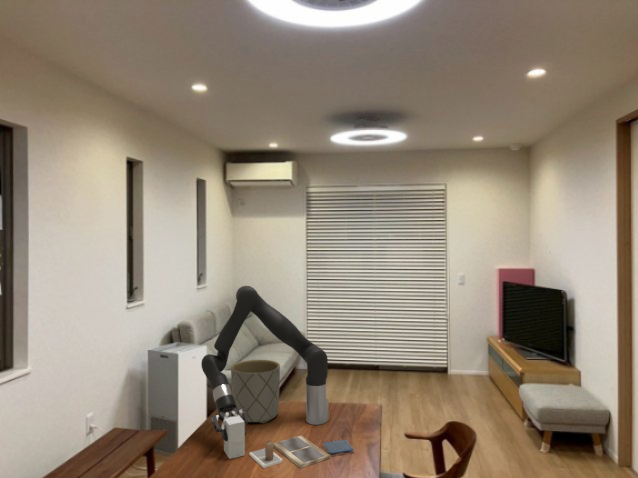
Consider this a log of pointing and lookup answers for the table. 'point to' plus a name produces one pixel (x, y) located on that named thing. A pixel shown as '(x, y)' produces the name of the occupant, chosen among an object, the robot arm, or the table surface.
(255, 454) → the plate
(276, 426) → the table surface
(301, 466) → the board
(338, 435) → the table surface
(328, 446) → the woven mat
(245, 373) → the planter
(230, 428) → the small box
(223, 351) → the robot arm
